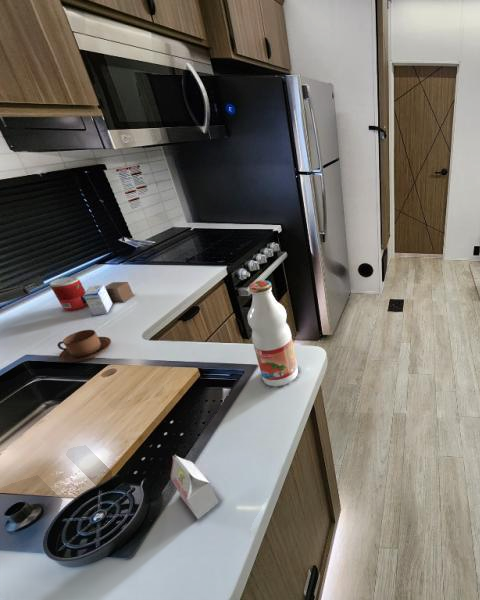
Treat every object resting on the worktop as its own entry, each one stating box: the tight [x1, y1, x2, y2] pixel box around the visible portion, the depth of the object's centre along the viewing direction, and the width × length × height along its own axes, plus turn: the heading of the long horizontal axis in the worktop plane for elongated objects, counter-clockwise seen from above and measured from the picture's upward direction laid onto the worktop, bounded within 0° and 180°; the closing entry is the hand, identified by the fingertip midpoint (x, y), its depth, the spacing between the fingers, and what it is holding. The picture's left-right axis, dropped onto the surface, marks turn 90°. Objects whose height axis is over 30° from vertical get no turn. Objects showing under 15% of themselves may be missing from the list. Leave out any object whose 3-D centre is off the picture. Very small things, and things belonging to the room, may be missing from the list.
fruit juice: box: [246, 279, 299, 387], centre depth 84 cm, size 9×9×28 cm
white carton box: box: [169, 454, 220, 520], centre depth 59 cm, size 4×7×10 cm, turn 53°
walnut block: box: [104, 281, 134, 303], centre depth 131 cm, size 6×6×6 cm
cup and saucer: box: [57, 329, 112, 363], centre depth 99 cm, size 12×12×6 cm
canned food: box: [49, 276, 89, 312], centre depth 124 cm, size 8×8×11 cm
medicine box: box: [83, 284, 113, 316], centre depth 122 cm, size 8×4×9 cm, turn 27°
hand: (20, 280), depth 107 cm, fingers open, 13 cm apart
